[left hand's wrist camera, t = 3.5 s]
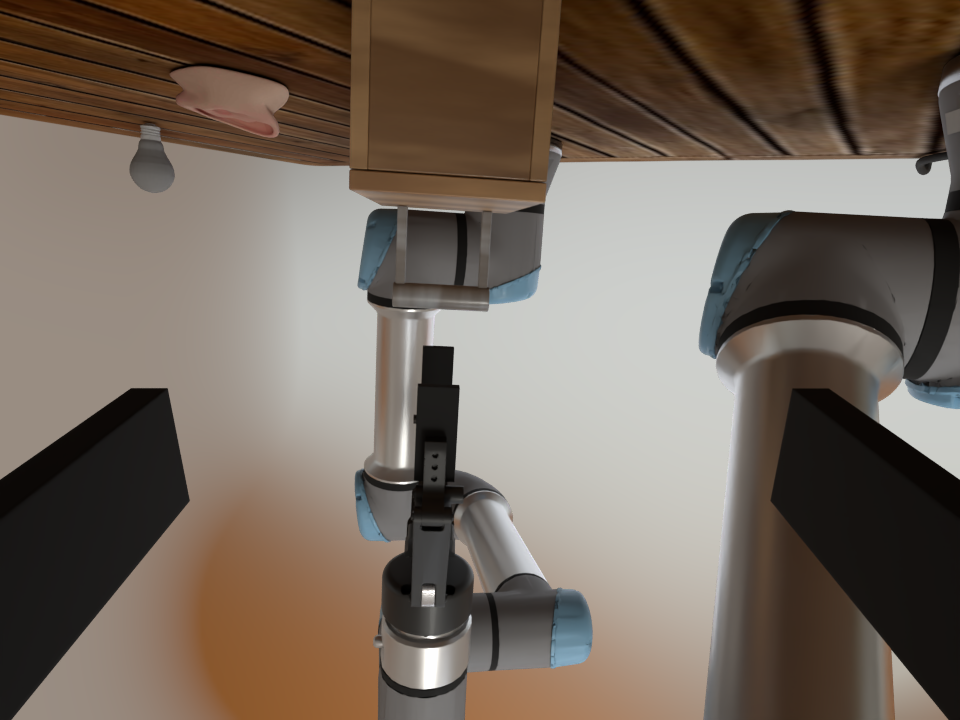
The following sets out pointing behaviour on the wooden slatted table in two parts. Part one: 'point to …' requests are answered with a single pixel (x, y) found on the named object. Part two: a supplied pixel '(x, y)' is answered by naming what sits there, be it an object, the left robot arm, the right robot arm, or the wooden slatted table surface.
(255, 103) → the anatomical model
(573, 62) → the wooden slatted table surface
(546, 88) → the chest
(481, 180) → the lid
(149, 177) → the light bulb
